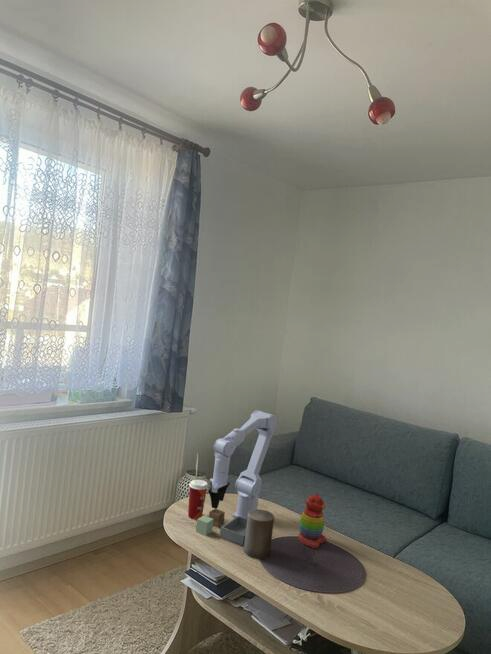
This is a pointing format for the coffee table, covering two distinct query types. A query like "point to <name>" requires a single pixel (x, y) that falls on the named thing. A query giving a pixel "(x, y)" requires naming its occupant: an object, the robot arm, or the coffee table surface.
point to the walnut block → (217, 517)
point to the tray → (234, 531)
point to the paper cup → (197, 498)
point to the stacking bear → (312, 522)
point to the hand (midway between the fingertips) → (217, 503)
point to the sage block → (204, 525)
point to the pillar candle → (258, 533)
